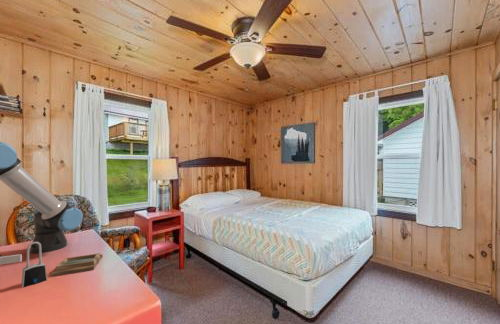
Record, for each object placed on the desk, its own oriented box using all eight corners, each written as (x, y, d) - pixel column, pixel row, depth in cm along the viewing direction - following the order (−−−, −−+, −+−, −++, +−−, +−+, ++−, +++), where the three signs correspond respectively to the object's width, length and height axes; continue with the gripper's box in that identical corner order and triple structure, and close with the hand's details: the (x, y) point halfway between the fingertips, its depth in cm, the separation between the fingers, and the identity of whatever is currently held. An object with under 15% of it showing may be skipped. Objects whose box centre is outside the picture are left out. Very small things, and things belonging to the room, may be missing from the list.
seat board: (66, 262, 104) (66, 256, 104) (102, 256, 109) (102, 251, 109) (51, 276, 90) (51, 269, 90) (93, 269, 95) (93, 263, 95)
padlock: (45, 277, 89) (44, 238, 90) (47, 280, 87) (46, 240, 87) (21, 284, 84) (20, 243, 84) (22, 288, 81) (22, 245, 82)
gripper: (-42, 272, 87) (29, 262, 94) (-118, 309, 64) (-16, 292, 71) (-42, 252, 87) (29, 243, 95) (-118, 282, 64) (-16, 267, 71)
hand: (10, 264), depth 83 cm, fingers open, 13 cm apart
